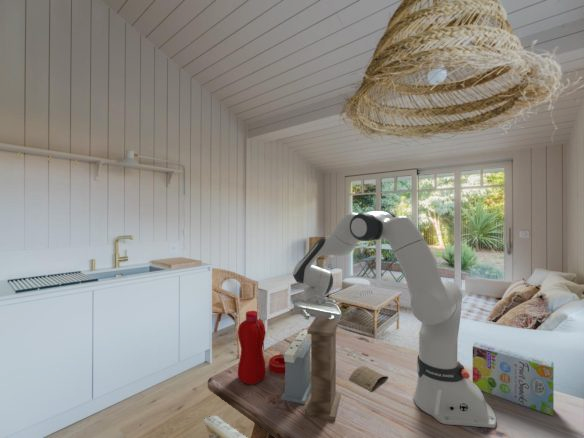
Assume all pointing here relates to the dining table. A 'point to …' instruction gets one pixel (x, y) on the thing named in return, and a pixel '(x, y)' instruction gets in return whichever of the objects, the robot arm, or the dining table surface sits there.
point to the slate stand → (298, 377)
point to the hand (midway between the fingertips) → (319, 320)
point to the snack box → (514, 377)
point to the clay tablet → (365, 377)
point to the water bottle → (251, 349)
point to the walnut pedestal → (323, 369)
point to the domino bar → (296, 346)
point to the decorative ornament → (277, 364)
